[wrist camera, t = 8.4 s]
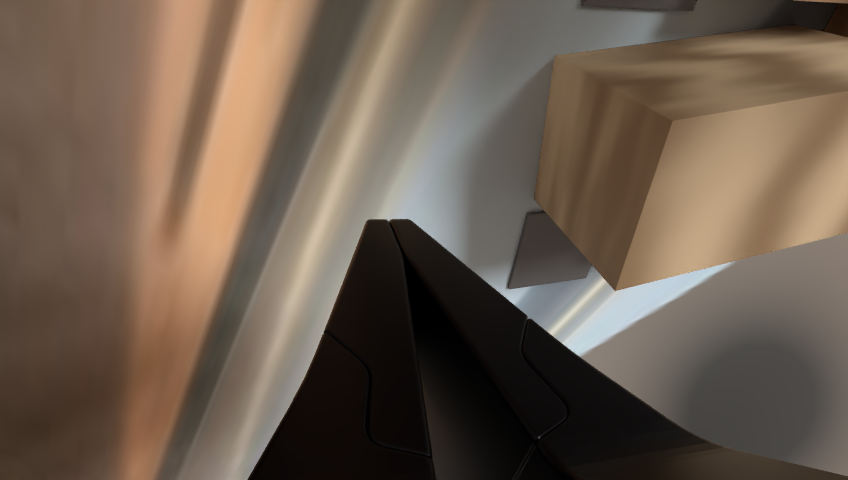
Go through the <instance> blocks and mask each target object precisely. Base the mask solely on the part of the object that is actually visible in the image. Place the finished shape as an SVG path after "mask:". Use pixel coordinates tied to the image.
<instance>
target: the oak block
mask: <svg viewBox="0 0 848 480" xmlns="http://www.w3.org/2000/svg"><path fill="white" fill-rule="evenodd" d="M534 200H535V201H536V202H537V203H538V204H539V205H540V206H541V207H542V209H543V210H544V211H545V212H546V213H547V214H548V215H549V217H550V218H551V219H552V220H553V221H554V222H555V223H556V225H557V226H558V227H559V228H560V229H561V230H562V231H563V232H564V234H565V235H566V236H567V237H568V238H569V239H570V240H571V242H572V243H573V244H574V245H575V246H576V247H577V248H578V249H579V251H580V252H581V253H582V254H583V255H584V256H585V257H586V259H587V260H588V261H589V262H590V263H591V264H592V265H593V266H594V268H595V269H596V270H597V271H598V272H599V273H600V274H601V276H602V277H603V278H604V279H605V280H606V281H607V282H608V283H609V285H610V286H611V287H612V288H613V289H614V290H615V291H617V290H621V289H625V288H629V287H633V286H637V285H641V284H645V283H649V282H653V281H657V280H661V279H665V278H669V277H673V276H677V275H681V274H685V273H689V272H693V271H697V270H701V269H705V268H709V267H713V266H717V265H721V264H725V263H729V262H733V261H737V260H741V259H744V258H749V257H752V256H756V255H760V254H764V253H768V252H772V251H776V250H780V249H784V248H788V247H792V246H796V245H800V244H804V243H808V242H812V241H816V240H820V239H824V238H828V237H832V236H836V235H840V234H844V233H848V37H843V36H839V35H835V34H831V33H827V32H823V31H819V30H815V29H811V28H807V27H803V26H798V25H786V26H778V27H771V28H763V29H755V30H747V31H740V32H732V33H724V34H717V35H709V36H701V37H694V38H686V39H678V40H671V41H663V42H655V43H647V44H640V45H632V46H624V47H617V48H609V49H601V50H594V51H586V52H578V53H571V54H563V55H555V57H554V64H553V71H552V78H551V85H550V92H549V98H548V105H547V112H546V119H545V126H544V133H543V140H542V147H541V153H540V160H539V167H538V174H537V181H536V188H535V195H534Z"/></svg>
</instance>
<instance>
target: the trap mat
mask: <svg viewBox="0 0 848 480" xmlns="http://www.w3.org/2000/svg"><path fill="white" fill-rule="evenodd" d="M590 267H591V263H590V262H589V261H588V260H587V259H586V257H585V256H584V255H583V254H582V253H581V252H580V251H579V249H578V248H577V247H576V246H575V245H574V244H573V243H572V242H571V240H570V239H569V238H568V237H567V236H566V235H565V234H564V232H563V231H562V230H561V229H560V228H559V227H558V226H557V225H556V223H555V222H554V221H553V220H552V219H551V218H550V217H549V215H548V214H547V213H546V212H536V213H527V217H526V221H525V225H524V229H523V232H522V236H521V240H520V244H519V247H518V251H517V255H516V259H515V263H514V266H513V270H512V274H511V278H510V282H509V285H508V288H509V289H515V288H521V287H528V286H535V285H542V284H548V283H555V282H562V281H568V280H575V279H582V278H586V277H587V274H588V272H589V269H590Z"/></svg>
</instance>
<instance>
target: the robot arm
mask: <svg viewBox="0 0 848 480" xmlns="http://www.w3.org/2000/svg"><path fill="white" fill-rule="evenodd" d="M527 319H528V317H527V315H526V314H524V313H523V312H522V311H521V310H520V309H518V308H517V307H516V306H515V305H514V304H512V303H511V302H510V301H509V300H507V299H506V298H505V297H504V296H503V295H501V294H500V293H499V292H498V291H496V290H495V289H494V288H493V287H492V286H490V285H489V284H488V283H487V282H486V281H484V280H483V279H482V278H481V277H479V276H478V275H477V274H476V273H475V272H473V271H472V270H471V269H470V268H468V267H467V266H466V265H465V264H464V263H462V262H461V261H460V260H459V259H458V258H456V257H455V256H454V255H453V254H451V253H450V252H449V251H448V250H447V249H445V248H444V247H443V246H442V245H440V244H439V243H438V242H437V241H436V240H434V239H433V238H432V237H431V236H430V235H428V234H427V233H426V232H425V231H423V230H422V229H421V228H420V227H419V226H417V225H416V224H415V223H414V222H412V221H411V220H409V219H392V220H390V221H388V220H385V219H370V220H367V222H366V224H365V226H364V229H363V231H362V234H361V237H360V239H359V242H358V244H357V247H356V250H355V252H354V255H353V257H352V260H351V263H350V265H349V268H348V270H347V273H346V276H345V278H344V281H343V284H342V286H341V289H340V291H339V294H338V297H337V299H336V302H335V304H334V307H333V310H332V312H331V315H330V317H329V320H328V323H327V325H326V328H325V330H324V334H323V335H322V337H321V340H320V343H319V345H318V348H317V350H316V353H315V355H314V357H313V360H312V362H311V364H310V367H309V369H308V371H307V373H306V376H305V378H304V380H303V382H302V384H301V386H300V388H299V389H298V391H297V393H296V395H295V397H294V399H293V401H292V403H291V405H290V407H289V408H288V410H287V412H286V414H285V415H284V417H283V419H282V421H281V422H280V424H279V426H278V427H277V429H276V431H275V433H274V434H273V436H272V438H271V440H270V441H269V443H268V445H267V447H266V448H265V450H264V452H263V454H262V455H261V457H260V459H259V461H258V462H257V464H256V466H255V467H254V469H253V471H252V473H251V474H250V476H249V478H248V480H848V476H844V475H840V474H835V473H831V472H827V471H823V470H818V469H814V468H810V467H806V466H802V465H797V464H793V463H789V462H785V461H780V460H776V459H772V458H768V457H764V456H760V455H755V454H751V453H747V452H743V451H738V450H735V449H731V448H727V447H724V446H721V445H718V444H716V443H712V442H710V441H708V440H705V439H703V438H701V437H699V436H696V435H695V434H693V433H691V432H689V431H687V430H685V429H684V428H682V427H680V426H679V425H677V424H676V423H674V422H673V421H671V420H669V419H668V418H666V417H665V416H664V415H662V414H661V413H659V412H658V411H656V410H655V409H653V408H652V407H651V406H649V405H648V404H646V403H645V402H643V401H642V400H641V399H639V398H638V397H636V396H635V395H633V394H632V393H630V392H629V391H628V390H626V389H625V388H623V387H621V386H620V385H619V384H617V383H616V382H615V381H613V380H611V379H610V378H609V377H607V376H606V375H604V374H603V373H601V372H600V371H598V370H597V369H596V368H594V367H593V366H592V365H590V364H589V363H587V362H586V361H585V360H583V359H582V358H581V357H579V356H578V355H576V354H575V353H574V352H572V351H571V350H570V349H568V348H567V347H566V346H564V345H563V344H562V343H561V342H559V341H558V340H557V339H556V338H554V337H553V336H552V335H550V334H549V333H548V332H547V331H545V330H544V329H543V328H542V327H541V326H539V325H538V324H537V323H536V322H534V321H533V320H532V319H528V320H527Z"/></svg>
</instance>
